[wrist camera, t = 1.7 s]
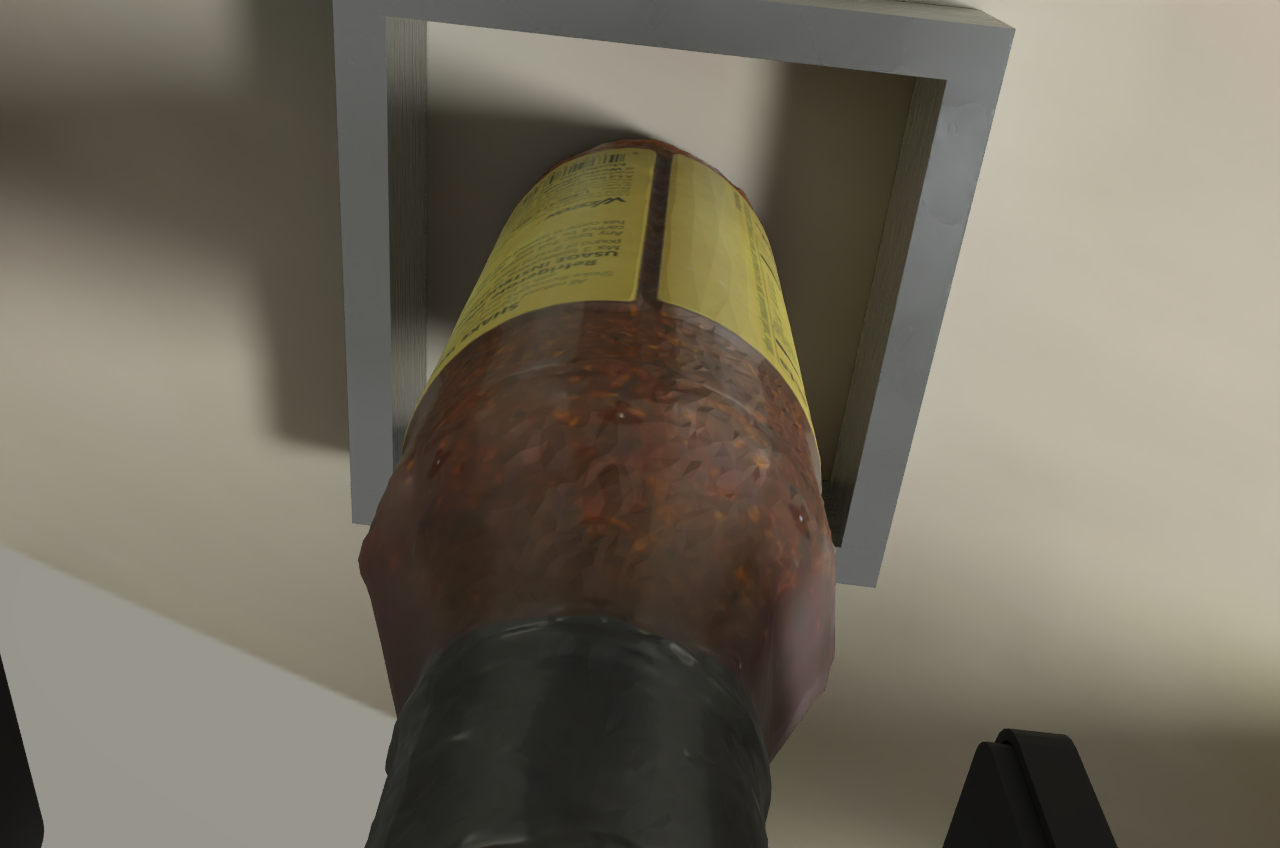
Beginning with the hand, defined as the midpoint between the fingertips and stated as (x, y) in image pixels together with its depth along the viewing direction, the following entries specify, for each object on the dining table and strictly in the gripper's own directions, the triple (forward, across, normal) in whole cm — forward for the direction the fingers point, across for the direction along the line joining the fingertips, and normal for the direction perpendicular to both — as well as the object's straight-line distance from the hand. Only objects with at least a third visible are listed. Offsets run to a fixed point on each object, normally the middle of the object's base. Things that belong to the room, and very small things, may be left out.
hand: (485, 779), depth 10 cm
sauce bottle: (+16, -1, 0) cm, 16 cm away
